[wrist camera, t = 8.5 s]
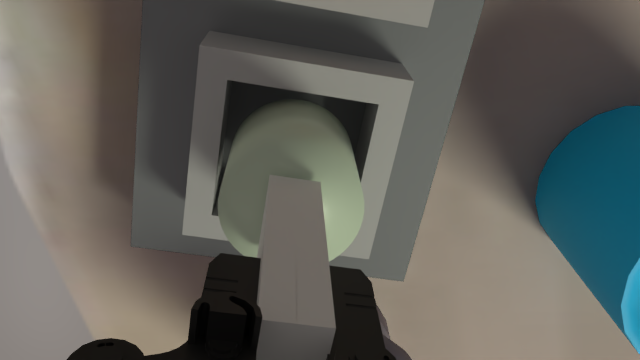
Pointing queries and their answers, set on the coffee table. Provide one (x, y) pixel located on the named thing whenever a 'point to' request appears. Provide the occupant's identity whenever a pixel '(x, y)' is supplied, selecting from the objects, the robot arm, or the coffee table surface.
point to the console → (302, 84)
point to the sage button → (290, 172)
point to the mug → (599, 210)
